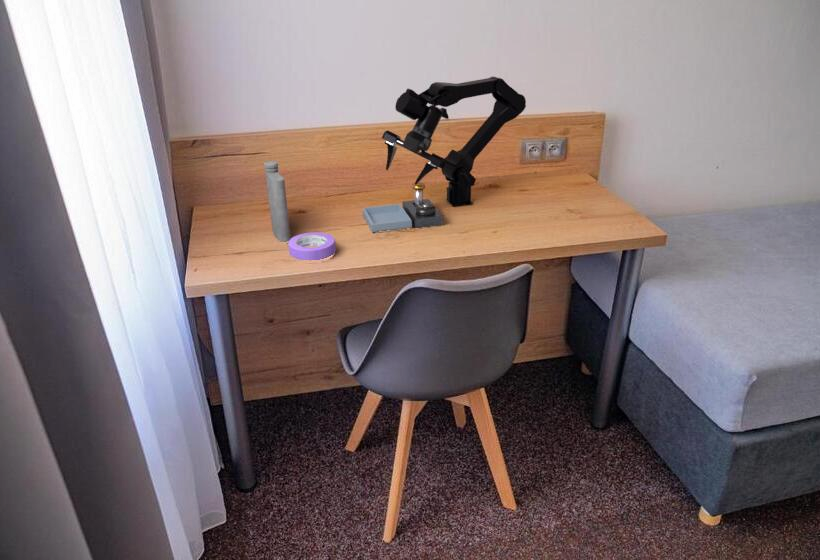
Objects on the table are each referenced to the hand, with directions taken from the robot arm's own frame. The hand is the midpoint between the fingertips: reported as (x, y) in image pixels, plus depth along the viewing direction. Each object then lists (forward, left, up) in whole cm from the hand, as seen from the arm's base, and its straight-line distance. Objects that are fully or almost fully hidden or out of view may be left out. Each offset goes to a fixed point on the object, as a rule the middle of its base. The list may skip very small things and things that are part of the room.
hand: (400, 177), depth 178 cm
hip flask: (+36, +3, -12) cm, 37 cm away
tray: (+6, +4, -11) cm, 13 cm away
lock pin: (-5, +1, -11) cm, 12 cm away
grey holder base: (-5, +4, -11) cm, 13 cm away
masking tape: (+29, +19, -12) cm, 36 cm away
